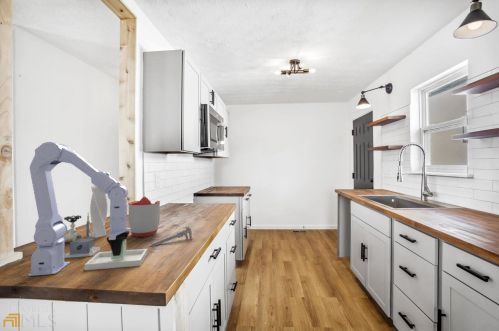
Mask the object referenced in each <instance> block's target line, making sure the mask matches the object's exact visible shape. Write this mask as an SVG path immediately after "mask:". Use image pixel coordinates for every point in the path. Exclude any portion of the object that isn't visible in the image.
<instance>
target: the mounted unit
mask: <svg viewBox="0 0 499 331" xmlns="http://www.w3.org/2000/svg"><path fill="white" fill-rule="evenodd" d="M95 239H96V238H82V239H76V240H74V241H72V242H69V252H67V253H65V254H64V259H69V258H82V257H94V256H95V255H96V254H97V253H98V252H100V251H101V247H102V246H96V245H95V244H96V242H95V241H96V240H95Z"/></svg>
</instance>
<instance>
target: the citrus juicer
mask: <svg viewBox="0 0 499 331" xmlns="http://www.w3.org/2000/svg"><path fill="white" fill-rule="evenodd" d="M160 204H161V200H157V201H155V203H154V202H153V203H152V201H151V200H150V199H149V198H148V197H147V196H142V198H141V199H140V200H134V201H130V202H127V205H128V228H131V230H130V233H131V235H132V236H133V237H137V238H139V237H143V238H146V237H147V238H148V237H149V236H153V235H155V234H157V232H158V229H159V225H160V220H161V215H160V214H161V211H160V210H161V205H160Z"/></svg>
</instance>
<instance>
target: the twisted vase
mask: <svg viewBox="0 0 499 331" xmlns="http://www.w3.org/2000/svg"><path fill="white" fill-rule="evenodd" d="M91 192H92V195H91V199H90V205H89V207H90V209H89V210H90V212H87V216H86V217H87V219H86V230H85V232H86V235H85V238H86V239H88V238H95V239H99V238H102V237H108V234H107V231H106V228H105V225H106V221H107V215H108V199H107V194H105V193H104V192H103V191H101V190H100V189H99V188H98V187H96V186H95V185H93V186H91ZM89 213H90V214H89ZM89 215H90V216H89ZM90 220H91V221H90ZM91 225H92V231H91Z"/></svg>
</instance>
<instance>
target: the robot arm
mask: <svg viewBox="0 0 499 331" xmlns="http://www.w3.org/2000/svg"><path fill="white" fill-rule="evenodd" d="M61 163H67V164H70V165H73V166H74V167H75V168H76V169H78V170H80V171H81V172H82V173H84V174H85V175H87V176H88V177H90V182H91V184H92V185H93V186H96V187H98V188H99V189H100V190H101V191H103V192H104V193H105V195H107V198H108V200H109V204H110V205H109V230H108V231H109V232H108V236H106V241H107V243H108V244H109V246H110V251H111V250H112V253H113V256H119V255H120V253H121V247H122V242H123V240H124V239H126V240H127V239H128V236H129V234H130V233H131V228H130V227H128V200H127V197H128V195H129V190H128V188H127V187H126V185H124V184H121V182H120V181H117V180H116V179H114V178H113V177H111V173H110V172H108V171H107V172H105V171H104V170H103V171H99V170H98V169H96V168H95V167H94V166H93V165H91V163H89V162H88V161H87V160H86V159H85V158H83V156H81V155H80V153H78V152H77V151H75V150H74V149H71V148H70V147H69V146H68V145H66V144H63V143H57V142H52V141H47V142H44V143H41V144H40V145H39V146H38V147H37V148H35V149H34V156H33V158H32V160H31V162H30V165H29V173H30V178H31V182H32V184H31V185H32V188H33V189H32V190H33V195H34V200H35V205H36V209H37V210H36V211H37V217H38V220H37V221H36V223H35V224H34V225H35V230H34V234H33V241H34V242H35V243H36V244H37V249H36V250H35V251H34V252H33V253H32V254H31V258H30V272H29V273H28V274H27V276H28V277H33V276H45V275H47V276H48V275H55V274H57V273H58V272H59V271H61V270H63V269H64V268H65V267H67V266H68V265H69V264H70V263H71V262H70V261H65V258H64V255H65V240H64V236H65V235H66V234H67V233H68V226H67V224H66V223H65V221H64V218H63V217H62V215H60V214H59V210H58V204H57V200H56V199H57V198H56V194H55V189H54V182H53V177H52V170H54V168H55V167H56V166H58V165H59V164H61Z"/></svg>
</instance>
